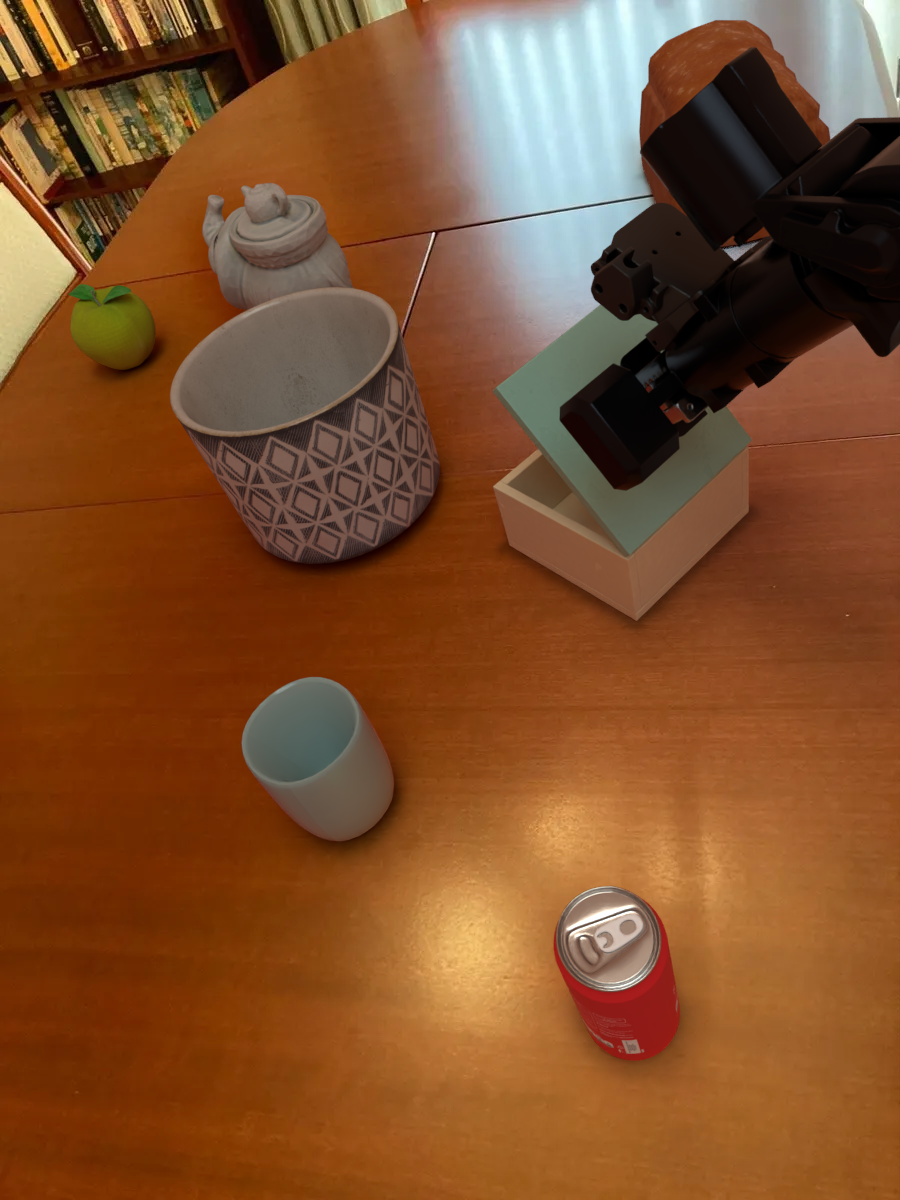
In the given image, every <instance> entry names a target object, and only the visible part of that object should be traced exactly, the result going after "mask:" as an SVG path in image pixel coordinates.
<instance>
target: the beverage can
mask: <svg viewBox="0 0 900 1200" xmlns="http://www.w3.org/2000/svg"><path fill="white" fill-rule="evenodd" d="M554 929H555V930H554V935H553V954H554V959H555V962H556V966H557V968H558V970H559V973H560V974H561V977H562V978H563V981H564V983H565V985H566V987H567V990H568V991H569V993H570V995H571V998H572V1000H573V1002H574V1004H575V1006H576V1008H577V1011H578V1013H579V1015H580V1018H581V1019H582V1021H583V1023H584V1025H585V1027H586V1029H587V1032H588V1033H589V1035H590V1037H591V1038H592V1040H593V1041H594V1042H595V1043H596V1044H597V1046H599V1048H600V1049H602V1050H603V1051H604V1052H606V1053H608V1054H609V1055H611V1056H612V1057H615V1058H617V1059H621V1060H625V1061H632V1062H633V1061H634V1062H635V1061H643V1060H648V1059H650V1058H653V1057H655V1056H656V1055H659V1054H660V1053H661V1052H663V1051H664V1050H665V1049H666V1048H667V1047H668V1046H669V1045H670V1044H671V1042H672V1041H673V1039H674V1037H675V1036H676V1033H677V1030H678V1028H679V1025H680V1018H681V1017H680V1016H681V1007H680V1002H679V1001H680V1000H679V995H678V990H677V983H676V977H675V972H674V967H673V962H672V955H671V949H670V944H669V939H668V934H667V931H666V927H665V925H664V922H663V921H662V919H661V917H660V915H659V914H658V912H657V911H656V910H655V908H654V907H652V905H650V903H649V902H647V901H646V900H645V899H644V898H642V897H641V896H639V895H637V894H636V893H635V892H632V891H630V890H628V889H625V888H622V887H619V886H615V885H602V886H601V885H600V886H595V887H592V888H589V889H586V890H585V891H582V892H581V893H579V894H577V895H576V896H575V897H573V898H572V899H571V900H570V901H569V902H568V903H567V904H566V906H565V907H564V909H563V910H562V913H560V916H559V919H558V920H557V923H556V926H555V928H554Z"/></svg>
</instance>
